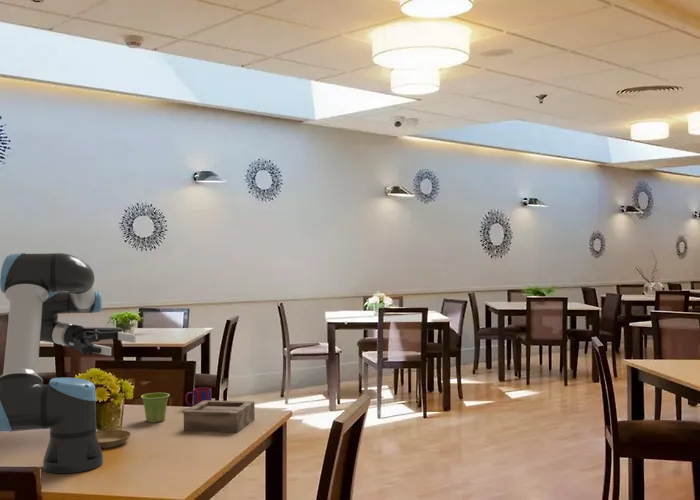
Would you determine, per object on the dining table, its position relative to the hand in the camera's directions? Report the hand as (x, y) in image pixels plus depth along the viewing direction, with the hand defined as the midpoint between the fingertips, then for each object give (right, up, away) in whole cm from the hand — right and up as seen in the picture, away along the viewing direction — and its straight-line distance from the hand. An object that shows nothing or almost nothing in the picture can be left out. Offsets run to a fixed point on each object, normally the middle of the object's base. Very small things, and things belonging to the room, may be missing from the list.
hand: (123, 345), depth 248 cm
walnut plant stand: (+33, -26, -3) cm, 42 cm away
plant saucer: (+2, -27, -25) cm, 37 cm away
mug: (+20, -27, +24) cm, 41 cm away
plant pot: (+10, -27, +4) cm, 29 cm away
